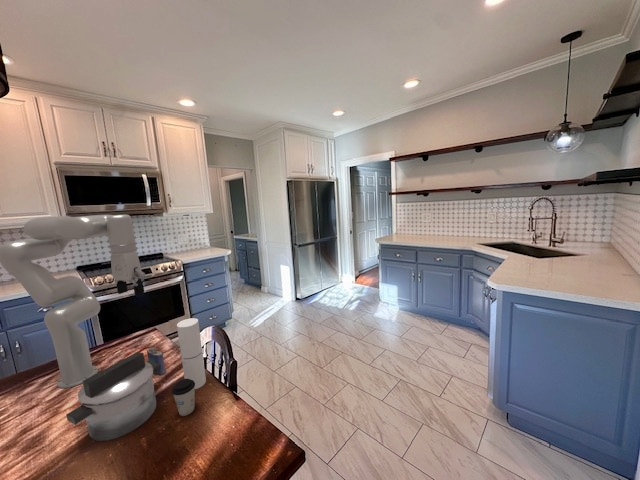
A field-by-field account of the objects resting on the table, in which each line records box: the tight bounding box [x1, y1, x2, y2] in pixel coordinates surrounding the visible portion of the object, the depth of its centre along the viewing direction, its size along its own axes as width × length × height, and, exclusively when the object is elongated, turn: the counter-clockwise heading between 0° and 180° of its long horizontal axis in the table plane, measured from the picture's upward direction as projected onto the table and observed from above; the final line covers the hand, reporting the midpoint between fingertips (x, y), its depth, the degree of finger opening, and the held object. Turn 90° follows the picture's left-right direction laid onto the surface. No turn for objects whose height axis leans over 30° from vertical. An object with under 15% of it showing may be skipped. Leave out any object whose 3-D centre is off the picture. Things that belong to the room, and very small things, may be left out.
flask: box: [146, 346, 166, 376], centre depth 109 cm, size 9×3×11 cm, turn 61°
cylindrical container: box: [176, 317, 207, 390], centre depth 100 cm, size 7×7×25 cm
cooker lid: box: [77, 351, 154, 406], centre depth 85 cm, size 19×19×6 cm
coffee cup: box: [171, 378, 196, 417], centre depth 88 cm, size 7×7×10 cm
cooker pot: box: [65, 362, 161, 442], centre depth 87 cm, size 18×26×12 cm
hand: (131, 293), depth 98 cm, fingers open, 9 cm apart
